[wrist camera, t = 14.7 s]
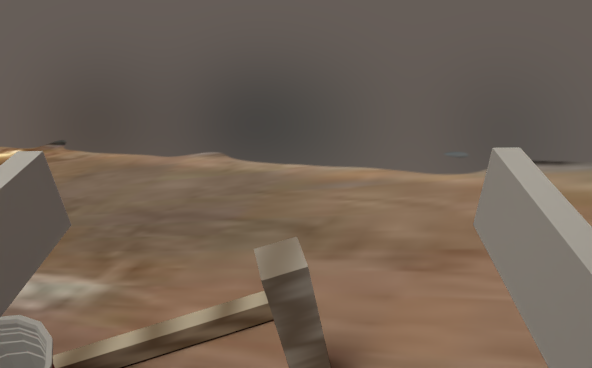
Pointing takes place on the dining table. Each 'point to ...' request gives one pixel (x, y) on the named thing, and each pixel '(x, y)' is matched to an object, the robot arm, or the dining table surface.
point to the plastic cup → (24, 343)
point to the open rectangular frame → (229, 319)
